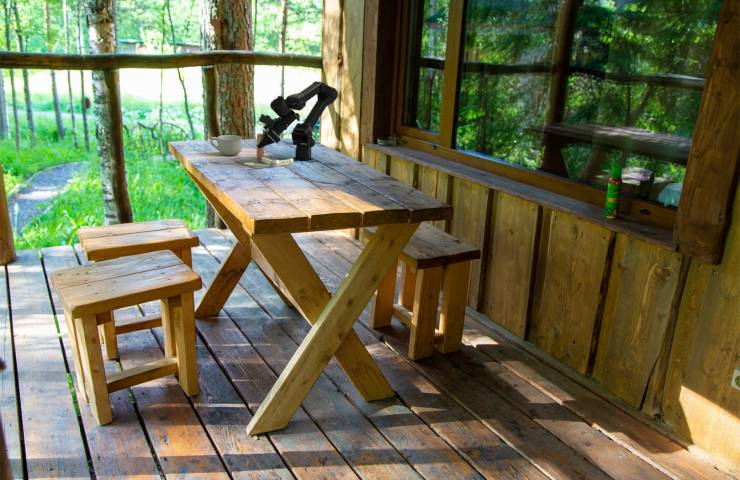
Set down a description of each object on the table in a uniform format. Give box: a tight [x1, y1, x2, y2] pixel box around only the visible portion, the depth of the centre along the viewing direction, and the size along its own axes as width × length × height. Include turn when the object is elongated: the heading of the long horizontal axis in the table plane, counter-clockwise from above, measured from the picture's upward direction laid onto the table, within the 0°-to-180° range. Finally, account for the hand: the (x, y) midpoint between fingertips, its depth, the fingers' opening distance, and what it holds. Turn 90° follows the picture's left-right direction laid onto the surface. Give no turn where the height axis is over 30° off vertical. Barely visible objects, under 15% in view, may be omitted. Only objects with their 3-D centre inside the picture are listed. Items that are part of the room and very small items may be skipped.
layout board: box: [234, 157, 291, 170], centre depth 255 cm, size 19×17×1 cm
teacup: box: [209, 134, 243, 156], centre depth 268 cm, size 14×11×8 cm
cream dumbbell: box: [274, 158, 294, 168], centre depth 253 cm, size 9×2×2 cm, turn 135°
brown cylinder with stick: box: [256, 133, 275, 165], centre depth 251 cm, size 12×3×11 cm, turn 40°
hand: (257, 147), depth 254 cm, fingers closed on brown cylinder with stick, 3 cm apart
